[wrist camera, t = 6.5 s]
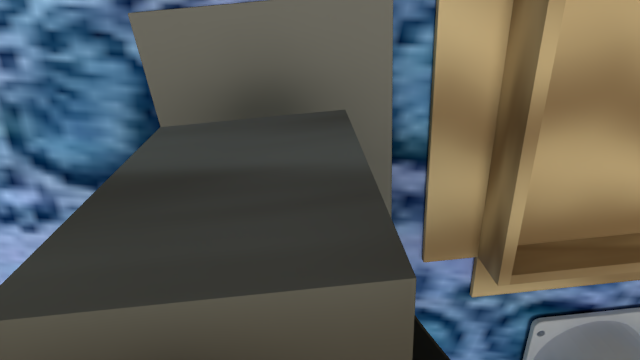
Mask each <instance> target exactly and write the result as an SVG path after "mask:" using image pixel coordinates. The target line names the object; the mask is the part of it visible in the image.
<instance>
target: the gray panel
mask: <svg viewBox="0 0 640 360" xmlns="http://www.w3.org/2000/svg"><path fill="white" fill-rule="evenodd" d="M128 16H129V19H130V23H131V26H132V30H133V33H134V37H135V40H136V44H137V47H138V51H139V54H140V58H141V61H142V64H143V68H144V71H145V75H146V78H147V82H148V85H149V89H150V92H151V96H152V99H153V103H154V106H155V109H156V113H157V116H158V120H159V123H160V127H167V126H178V125H188V124H199V123H209V122H219V121H230V120H240V119H251V118H261V117H272V116H282V115H293V114H303V113H314V112H324V111H335V110H346V112H347V115H348V117H349V119H350V122H351V124H352V127H353V129H354V131H355V134H356V136H357V138H358V141H359V143H360V146H361V148H362V150H363V153H364V155H365V157H366V160H367V162H368V165H369V167H370V169H371V172H372V174H373V176H374V179H375V181H376V184H377V186H378V188H379V191H380V193H381V195H382V198H383V200H384V203H385V205H386V207H387V210H388V212H389V214H390V217H391V189H392V55H393V0H267V1H256V2H245V3H234V4H223V5H212V6H201V7H190V8H179V9H168V10H157V11H146V12H135V13H128Z"/></svg>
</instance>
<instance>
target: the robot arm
mask: <svg viewBox="0 0 640 360" xmlns="http://www.w3.org/2000/svg"><path fill="white" fill-rule="evenodd" d="M412 360H450V359H449V357H448V356H447V355H446V354H445V353H444V352H443V350H442V349H441V348H440V347H439V345H438V344H437V343H436V342H435V340H434V339H433V338H432V337H431V336H430V334H429V333H428V332H427V331H426V329H425V328H424V327H423V325H422V324H421V323H420V322H419V320H418V319H417V318H416V316H415V315H414V336H413V357H412ZM523 360H640V307H638V308H629V309H619V310H610V311H600V312H591V313H581V314H571V315H562V316H552V317H543V318H537V319H535V320H534V321H533V322H532V324H531V328H530V332H529V336H528V340H527V344H526V348H525V352H524V356H523Z"/></svg>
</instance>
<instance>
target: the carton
mask: <svg viewBox="0 0 640 360" xmlns="http://www.w3.org/2000/svg"><path fill="white" fill-rule="evenodd" d="M471 257H475V259H474V266H473V274H472V281H471V288H470V295H471V297H479V296H489V295H498V294H508V293H518V292H527V291H537V290H547V289H556V288H566V287H576V286H585V285H595V284H605V283H614V282H624V281H634V280H640V0H437V1H436V19H435V37H434V55H433V73H432V91H431V109H430V127H429V145H428V163H427V181H426V199H425V217H424V235H423V253H422V260H423V262H432V261H442V260H452V259H461V258H471Z"/></svg>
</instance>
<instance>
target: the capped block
mask: <svg viewBox="0 0 640 360" xmlns="http://www.w3.org/2000/svg"><path fill="white" fill-rule="evenodd" d="M415 294H416V276H415V274H414V272H413V269H412V267H411V264H410V262H409V260H408V257H407V255H406V253H405V250H404V248H403V245H402V243H401V241H400V238H399V236H398V234H397V231H396V229H395V226H394V224H393V222H392V219H391V217H390V214H389V212H388V210H387V207H386V205H385V203H384V200H383V198H382V195H381V193H380V191H379V188H378V186H377V184H376V181H375V179H374V176H373V174H372V172H371V169H370V167H369V165H368V162H367V160H366V157H365V155H364V153H363V150H362V148H361V146H360V143H359V141H358V138H357V136H356V134H355V131H354V129H353V127H352V124H351V122H350V119H349V117H348V115H347V112H346V110H335V111H324V112H314V113H303V114H293V115H282V116H272V117H261V118H251V119H240V120H230V121H219V122H209V123H199V124H188V125H178V126H167V127H160V128H159V129H158V130H157V131H156V132H155V133H154V134H153V135H152V136H151V137H150V138H149V139H148V140H147V141H146V142H145V143H144V144H143V145H142V146H141V147H140V148H139V149H138V150H137V151H136V152H135V153H134V154H133V155H132V156H131V157H130V158H129V159H128V160H127V161H126V162H125V163H124V164H123V165H122V166H121V167H120V168H119V169H118V170H117V171H116V172H115V173H114V174H113V175H112V176H111V177H110V178H109V179H107V180H106V181H105V182H104V183H103V184H102V185H101V186H100V187H99V188H98V189H97V190H96V191H95V192H94V193H93V194H92V195H91V196H90V197H89V198H88V199H87V200H86V201H85V202H84V203H83V204H82V205H81V206H80V207H79V208H78V209H77V210H76V211H75V212H74V213H73V214H72V215H71V216H70V217H69V218H68V219H67V220H66V221H65V222H64V223H63V224H62V225H61V226H60V227H59V228H58V229H57V230H56V231H55V232H54V233H53V234H52V235H51V236H50V237H49V238H48V239H47V240H46V241H45V242H44V243H43V244H42V245H41V246H40V247H39V248H38V249H37V250H36V251H35V252H34V253H33V254H32V255H31V256H30V257H29V258H28V259H27V260H26V261H25V262H24V263H23V264H22V265H21V266H20V267H19V268H18V269H17V270H16V271H14V272H13V273H12V274H11V275H10V276H9V277H8V278H7V279H6V280H5V281H4V282H3V283H2V284H1V285H0V360H412V357H413V336H414V315H415Z"/></svg>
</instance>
